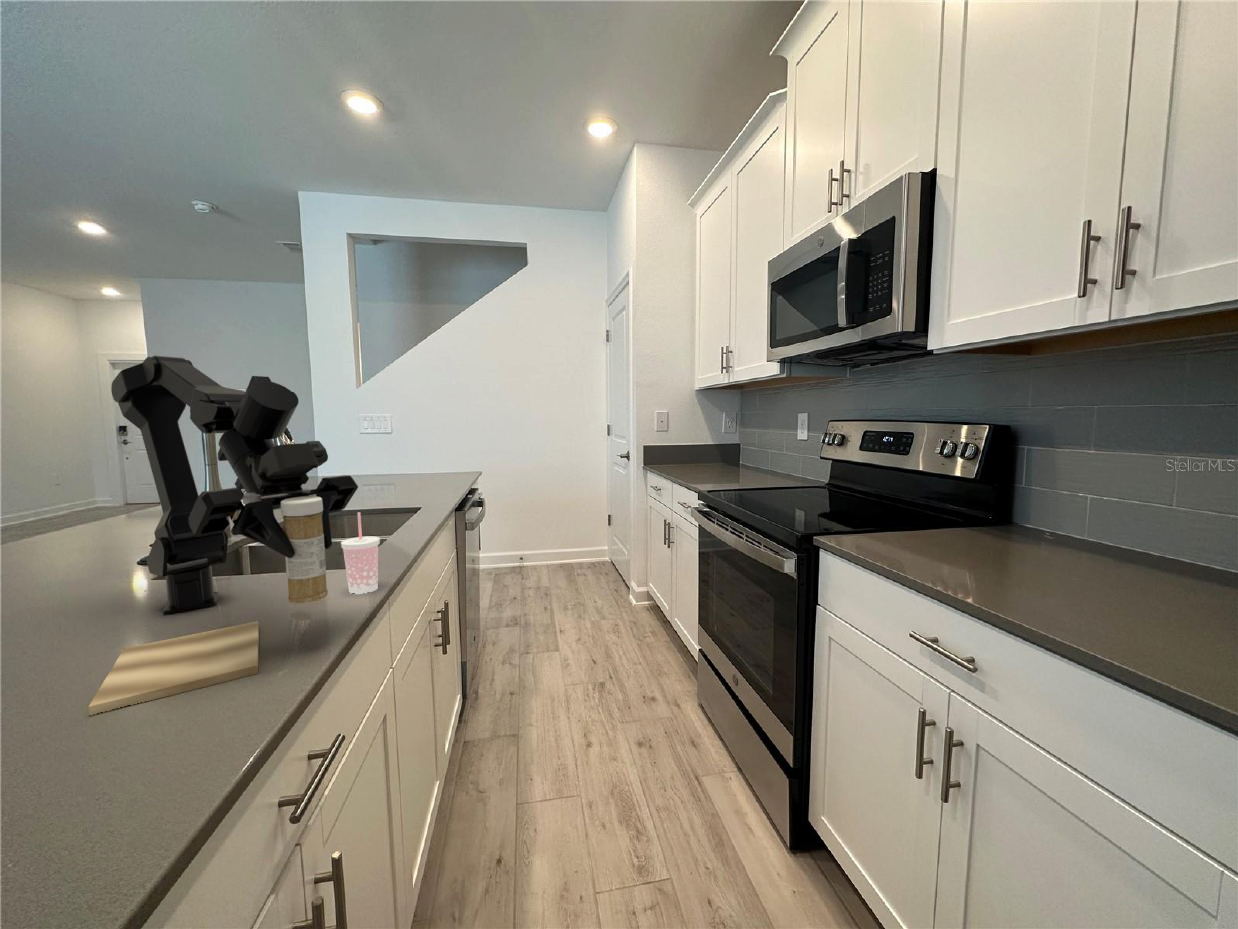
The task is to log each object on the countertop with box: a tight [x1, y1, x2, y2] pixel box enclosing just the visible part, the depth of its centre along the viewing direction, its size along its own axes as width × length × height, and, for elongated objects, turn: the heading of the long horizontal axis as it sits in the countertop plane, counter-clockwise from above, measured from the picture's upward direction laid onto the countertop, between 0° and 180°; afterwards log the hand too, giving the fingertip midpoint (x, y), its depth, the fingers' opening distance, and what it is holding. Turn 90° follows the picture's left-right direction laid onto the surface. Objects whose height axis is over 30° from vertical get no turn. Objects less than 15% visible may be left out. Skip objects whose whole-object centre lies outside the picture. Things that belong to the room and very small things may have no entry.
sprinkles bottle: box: [280, 496, 329, 604], centre depth 64 cm, size 5×5×13 cm
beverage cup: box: [340, 511, 381, 595], centre depth 86 cm, size 6×6×14 cm
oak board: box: [88, 620, 260, 716], centre depth 61 cm, size 16×14×1 cm
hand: (311, 551), depth 63 cm, fingers closed on sprinkles bottle, 4 cm apart
